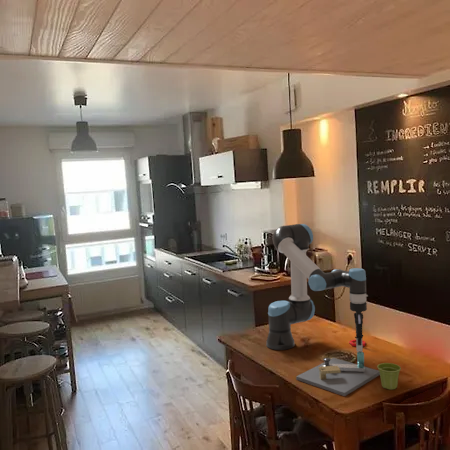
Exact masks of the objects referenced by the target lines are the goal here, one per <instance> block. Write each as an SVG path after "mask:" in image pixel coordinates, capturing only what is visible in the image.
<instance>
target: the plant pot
mask: <svg viewBox="0 0 450 450" xmlns="http://www.w3.org/2000/svg"><path fill="white" fill-rule="evenodd" d="M376 368H377V370H378V371H379V372H380V375H379V376H380V377H379V378H380V382H381V387H382V388H383V389H387V390H396V389H397V388H398V383H399V375H400V371H401V369H402V368H401V366H400V365H398V364H396V363H393V362H383V363H379V364H377V366H376Z"/></svg>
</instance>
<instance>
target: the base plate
mask: <svg viewBox="0 0 450 450" xmlns="http://www.w3.org/2000/svg"><path fill="white" fill-rule="evenodd" d="M323 363H325V361H323ZM329 363H330V364H354V365H357V363H353V362H350V361H347V360H343V359H339V358H336V357H333V358H330V361H329ZM318 367H321V363H320V364H319V365H316V366H314V367H312V368H310V369H308V370H306V371H304V372H302V373H300V374H298V375H297V376H295V378H296V381H299V382H302V383H305V384H308V385H311V386H312V387H317V388H319V389H322V390H326V391H328V392H331V393H334V394H337V395H340V396H343V397H346V396H348V395H349V394H351V393H353V392H354V391H356V390H358V389H359V388H361V387H363V386H364V385H366V384H367V383H369V382H370V381H372V380H375V379H376V378H377V377H379V376H380V372H379V369H375V368H370V367H367V366H364V368H365V372H358V371H341V373H329V374H326V379H323V380H321V379H320V377H319V369H318Z"/></svg>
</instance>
